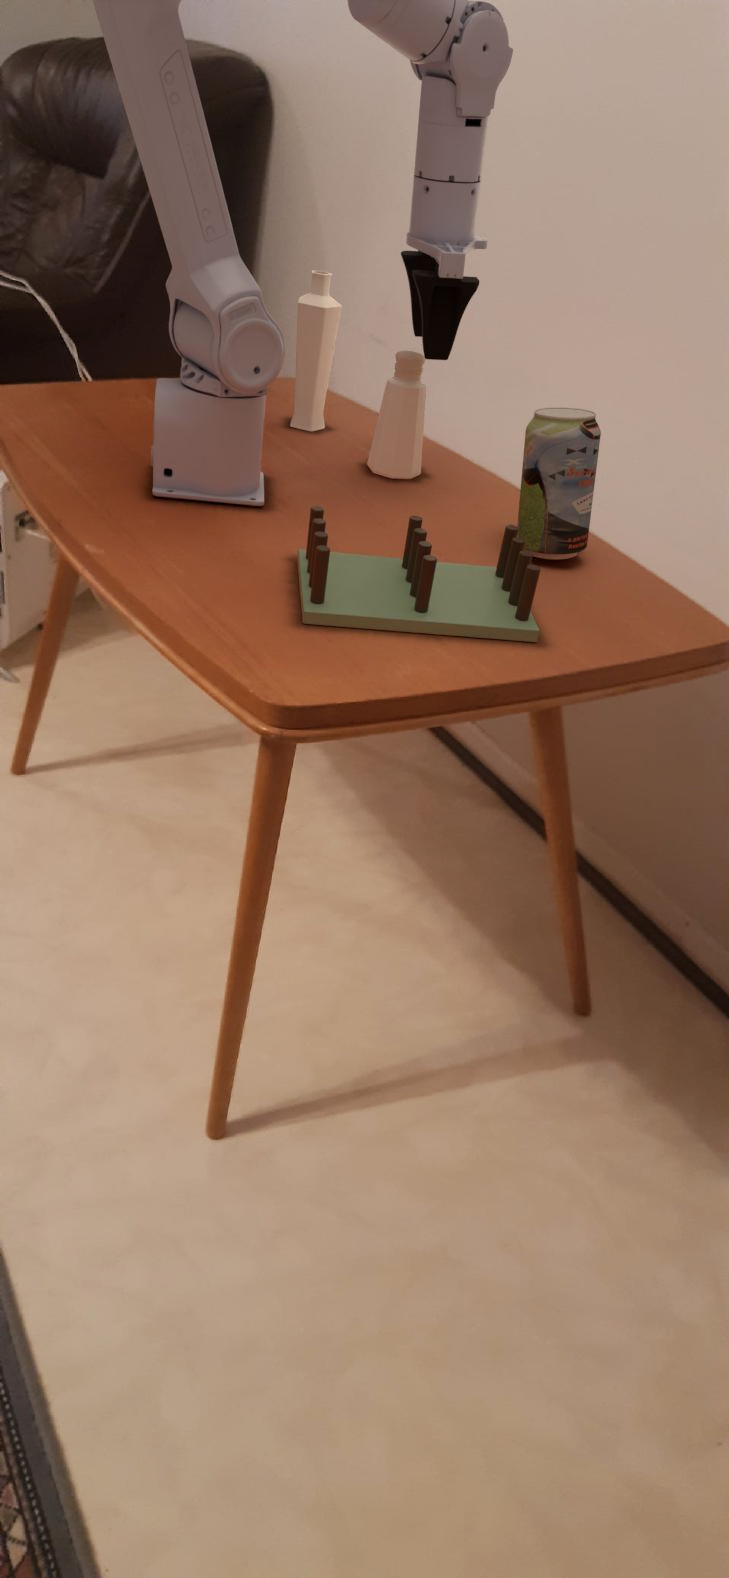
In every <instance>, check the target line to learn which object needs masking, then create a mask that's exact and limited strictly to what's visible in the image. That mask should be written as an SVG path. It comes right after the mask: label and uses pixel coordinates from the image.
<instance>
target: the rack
mask: <svg viewBox="0 0 729 1578" xmlns="http://www.w3.org/2000/svg"><path fill="white" fill-rule="evenodd" d="M309 513H310V514H309V521H308V522H309V523H308V532H307V539H306V540H307V541H306V549H304V548H303V549H301V548H298V550H297V557H296V562H297V563H296V565H297V573H298V574H297V575H298V584H299V598H300V609H301V620H302V624H304V625H313V626H314V625H316V626H327V627H338V628H339V627H340V628H352V629H365V630H375V631H376V630H377V631H389V632H401V633H402V632H403V633H415V634H426V635H427V634H428V635H439V636H440V635H441V636H451V637H465V638H476V639H477V638H478V639H488V640H489V639H491V640H501V641H502V640H504V641H514V642H526V643H527V642H529V643H537V642H538V640H539V636H540V628H539V626H538V624H537V622H536V620H535V618H534V616H533V614H532V612H531V611H532V607H533V602H534V599H535V595H536V590H537V586H538V582H539V578H540V574H541V566H538V565H536V564H532V561H533V557H534V556H533V554H532V553H531V552H529V551H524V546H525V540H524V539H522V538H517V533H518V527H517V526H516V525H513V524H506V526H505V527H504V533H503V536H502V542H501V544H500V545H501V546H500V551H499V555H498V559H497V564H496V566H492V565H491V566H489V565H479V564H470V563H469V564H468V563H455V562H447V561H446V562H445V561H438V558H437V557H436V556H435V555H432V549H433V544H432V543H431V542H430V541H427V537H428V530H426V529H425V528H422V527H423V517H422V516H419V515H410V516H409V519H408V526H407V532H406V537H405V544H404V549H403V556H402V558H401V557H391V556H381V555H370V554H359V553H349V552H348V553H347V552H337V551H331V548H330V547H329V546H328V540H329V534H328V533H327V532H326V527H327V521H326V520H325V519H324V515H325V508H324V507H322V506H318V505H313V506H311V507H310V512H309Z"/></svg>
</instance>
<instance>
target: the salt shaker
mask: <svg viewBox="0 0 729 1578" xmlns="http://www.w3.org/2000/svg"><path fill="white" fill-rule="evenodd" d="M425 363H426V359H425V357H424V354H422V353H420V352H417V351H413V350H399V351H397V352H396V353H395V363H394V364H395V365H394V372H393V376H392V377H389V378H388V379H387V380H386V383H385V387H384V391H383V395H382V399H381V404H380V408H379V412H378V417H377V421H376V425H375V429H374V433H373V436H372V442H371V445H370V450H369V454H368V458H367V463H366V465H367V467H368V468H369V470H370V471H371V472H372V474H375V475H379V476H382V477H385V478H388V479H394V480H395V479H396V480H412V479H415V478H416V477H418V476H420V475H421V474H422V464H423V463H422V462H423V448H424V447H423V446H424V445H423V444H424V429H425V414H426V413H425V411H426V396H427V395H426V394H427V386H426V384H425V383H424V382H423V381H422V374H423V371H424V365H425Z"/></svg>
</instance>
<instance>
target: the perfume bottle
mask: <svg viewBox="0 0 729 1578" xmlns="http://www.w3.org/2000/svg"><path fill="white" fill-rule="evenodd" d="M311 275H312V276H311V286H310V292H307V293H305V294H303V295H301V296H300V297H299V298H298V300H297V316H296V317H297V318H296V319H297V321H296V348H295V349H296V350H295V351H296V353H295V379H294V380H295V381H294V382H295V383H294V384H295V385H294V408H293V409H294V410H293V413H292V416H291V419H290V424H289V427H291V428H295V429H298V430H303V431H307V432H316V431H320V430H325V429H326V425H325V417H324V409H325V404H326V398H327V393H328V387H329V380H330V375H331V370H332V364H333V360H334V359H333V358H334V353H335V348H336V342H337V336H338V330H339V325H340V321H341V314H342V310H343V309H342V308H343V305H342V304H341V303H339V302H338V301H337V300H336V299H335V298H333V297H332V296H331V295H330V288H331V280H332V276H333V273H331V272H328V271H326V270H316V269H311Z"/></svg>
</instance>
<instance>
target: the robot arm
mask: <svg viewBox="0 0 729 1578" xmlns="http://www.w3.org/2000/svg"><path fill="white" fill-rule="evenodd" d="M181 2H182V0H92V3H93V6H94V10H95V13H96V17H97V20H98V23H99V27H100V30H101V34H102V36H103V40H104V44H105V47H106V50H107V53H108V57H109V60H110V64H111V65H112V66H111V67H112V71H113V73H114V77H115V81H116V83H117V86H118V90H119V93H120V97H121V100H122V103H123V106H124V110H125V113H126V118H127V120H128V124H129V127H130V130H131V134H132V137H133V140H134V143H135V144H134V145H135V147H136V150H137V154H138V157H139V160H140V164H141V168H142V171H143V173H144V177H145V180H146V183H147V187H148V190H149V193H150V197H151V200H152V203H153V207H154V210H155V214H156V217H157V221H158V224H159V227H160V231H161V233H162V237H163V240H164V244H165V247H166V250H167V253H168V257H169V260H170V263H171V270H170V273H169V275H168V277H167V279H166V282H165V288H166V293H167V295H168V299H169V300H168V301H169V307H170V308H169V309H170V310H169V311H170V312H169V319H168V334H169V339H170V342H171V344H172V347H173V348H174V350H175V352H176V353H177V354H178V355H179V356H180V357H181V367H180V371H179V372H180V373H179V377H177V378H175V377H174V378H170V377H169V378H168V377H159V378H157V379H156V383H155V390H154V391H155V392H154V406H153V407H154V409H153V444H152V445H151V447H150V466H151V467H152V468H153V469H152V490H151V491H152V493H151V494H152V495H153V496H155V497H158V498H159V497H161V498H171V499H181V500H193V501H201V502H213V503H224V504H232V505H233V504H234V505H243V506H254V507H262V506H264V505H265V477H264V471H261V469H262V455H263V442H264V430H265V418H266V417H265V416H266V405H267V404H266V401H267V396H268V390H269V386H271V385H272V383H273V382H275V380H276V379H277V377H278V376H279V374H280V372H281V370H282V368H283V365H284V362H285V357H286V341H285V337H284V334H283V331H282V329H281V327H280V325H279V324H278V322H277V321H276V320H275V319H274V318H273V316H271V314H270V313H269V311H268V308H267V307H266V303H265V301H264V298H263V297H264V296H263V293H262V290H261V288H260V286H259V284H258V283H257V281H256V280H255V278H254V276H253V275H252V274H251V272H250V270H249V269H248V267H247V266H246V265H245V262H244V260H243V259H242V258H241V254H240V252H239V248H238V244H237V240H236V236H235V233H234V228H233V224H232V220H231V216H230V212H229V209H228V203H227V200H226V197H225V196H226V195H225V193H224V188H223V184H222V180H221V177H220V173H219V172H220V171H219V169H218V164H217V161H216V157H215V153H214V149H213V144H212V141H211V137H210V133H209V129H208V126H207V121H206V117H205V114H204V109H203V105H202V100H201V98H200V93H199V90H198V85H197V83H196V77H195V74H194V70H193V66H192V62H191V58H190V54H189V50H188V45H187V42H186V38H185V34H184V29H183V26H182V22H181V18H180V14H179V7H180V5H181ZM347 6H348V9H349V10H348V11H349V13H350V15H351V17H352V18H353V19H354V20H355V21H356V22H357V23H359V24H360V25H362V26H363V27H364V28H365V29H367V30H368V31H370V32H371V33H373V35H375V36H376V37H378V38H379V39H380V40H382V41H384V42H385V43H386V44H387V45H389V46H390V47H391V48H393V49H395V51H396V52H398V53H399V54H401V55H402V56H403V57H404V58H406V59H407V60H409V63H410V66H411V69H412V71H413V73H414V75H415V77H416V78H417V79H418V80H419V81H421V84H420V85H421V87H420V98H419V109H418V119H417V120H418V122H417V133H416V145H415V155H414V156H415V158H414V167H413V168H414V170H413V183H412V191H411V202H410V203H411V205H410V216H409V218H410V219H409V229H408V232H407V233H406V239H405V244H406V245H407V246H409V247H410V248H412V249H415V250H402V251H401V252H400V256H401V259H402V262H403V265H404V268H405V271H406V276H407V281H408V286H409V294H410V306H411V307H410V308H411V309H410V311H411V320H412V322H411V323H412V331H413V335H414V337H416V338H417V337H418V338H419V337H420V338H421V341H422V351H423V356H424V357H425V360H430V361H431V360H433V361H434V360H435V361H447V360H449V358H450V355H451V352H452V350H453V347H454V343H455V340H456V337H457V333H458V330H459V327H460V324H461V321H462V318H463V315H464V313H465V312H466V309H467V307H468V305H469V303H470V302H471V300H472V298H473V296H474V295H475V294H476V292H477V290H478V288H479V286H480V279H479V278H478V277H477V276H466V275H465V276H464V272H465V266H466V258H467V257H468V256H469V255H470V254H472V253H473V252H474V251H475V250H486V249H487V248H488V239H487V238H486V237H485V236H480V235H479V236H477V235H475V234H476V227H477V218H478V209H479V203H480V202H479V200H480V192H481V184H482V183H481V182H482V177H483V176H482V175H483V168H484V167H483V166H484V160H485V151H486V141H487V134H488V126H489V125H488V124H489V117H490V116H491V111H492V110H494V109H495V101H496V95H497V90H498V88H499V86H500V85H501V83H502V81H503V80H504V78H505V77H506V75H507V73H508V70H509V68H510V66H511V63H512V58H513V54H514V48H513V47H510V43H509V42H510V41H509V39H510V38H509V33H508V32H509V31H508V28H507V26H506V22H505V21H504V17H503V16H502V14H501V12H500V11H499V9H498V8H497V7H496V6H495V5H493V4H491V2H487V1H481V0H347Z"/></svg>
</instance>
